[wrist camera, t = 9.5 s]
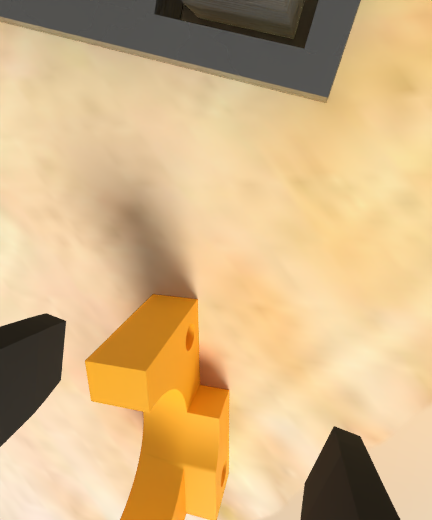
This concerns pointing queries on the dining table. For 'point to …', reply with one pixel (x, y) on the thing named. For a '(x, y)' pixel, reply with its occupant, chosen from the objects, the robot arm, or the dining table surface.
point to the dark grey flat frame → (198, 40)
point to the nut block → (252, 14)
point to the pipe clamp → (166, 410)
